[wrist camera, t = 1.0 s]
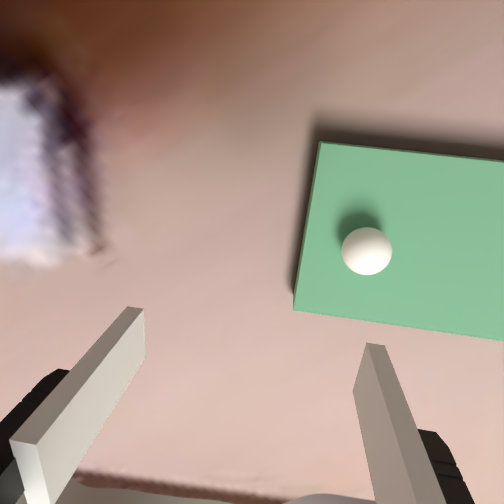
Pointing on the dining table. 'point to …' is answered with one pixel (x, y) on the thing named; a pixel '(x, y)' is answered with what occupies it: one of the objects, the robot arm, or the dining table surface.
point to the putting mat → (407, 239)
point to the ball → (366, 251)
